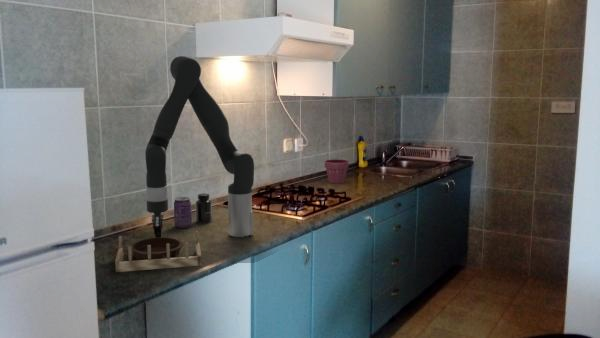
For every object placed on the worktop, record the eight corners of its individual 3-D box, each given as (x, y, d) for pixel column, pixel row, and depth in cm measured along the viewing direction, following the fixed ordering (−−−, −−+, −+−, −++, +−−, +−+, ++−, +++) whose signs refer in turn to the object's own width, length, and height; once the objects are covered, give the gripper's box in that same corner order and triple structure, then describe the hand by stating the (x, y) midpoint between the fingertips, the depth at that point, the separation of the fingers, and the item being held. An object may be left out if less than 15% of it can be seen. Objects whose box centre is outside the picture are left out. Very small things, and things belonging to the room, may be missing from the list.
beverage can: (182, 223, 227) (181, 195, 225) (195, 225, 223) (194, 198, 221) (171, 227, 221) (169, 199, 219) (183, 229, 217) (182, 201, 215)
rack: (199, 250, 192) (198, 229, 190) (201, 265, 177) (200, 242, 176) (119, 256, 185) (118, 234, 184) (115, 272, 171) (114, 248, 170)
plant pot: (326, 179, 323) (326, 158, 320) (349, 180, 320) (349, 159, 318) (322, 184, 309) (323, 162, 307) (346, 185, 306) (347, 163, 304)
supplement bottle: (209, 223, 226) (208, 196, 224) (193, 223, 227) (192, 195, 225) (214, 219, 233) (213, 193, 231) (199, 218, 234) (198, 192, 232)
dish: (159, 245, 198) (159, 232, 197) (197, 258, 184) (197, 244, 183) (117, 257, 185) (116, 243, 184) (154, 272, 171) (153, 258, 170)
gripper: (167, 202, 186) (168, 249, 190) (168, 193, 199) (169, 237, 202) (145, 203, 185) (147, 250, 188) (147, 194, 197) (149, 238, 201)
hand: (158, 243), depth 195 cm, fingers closed
